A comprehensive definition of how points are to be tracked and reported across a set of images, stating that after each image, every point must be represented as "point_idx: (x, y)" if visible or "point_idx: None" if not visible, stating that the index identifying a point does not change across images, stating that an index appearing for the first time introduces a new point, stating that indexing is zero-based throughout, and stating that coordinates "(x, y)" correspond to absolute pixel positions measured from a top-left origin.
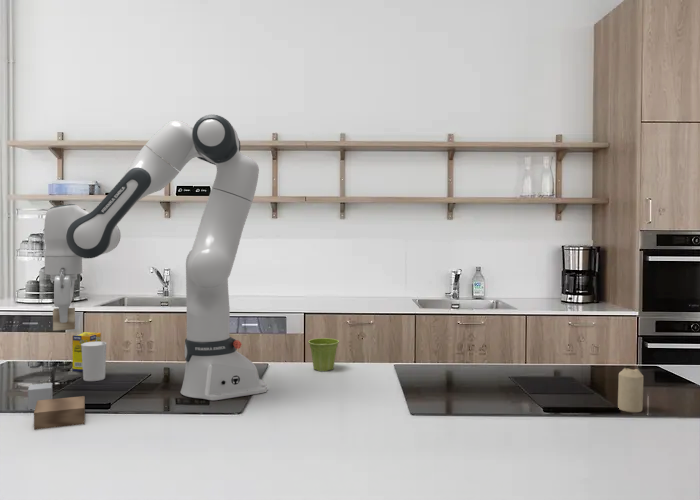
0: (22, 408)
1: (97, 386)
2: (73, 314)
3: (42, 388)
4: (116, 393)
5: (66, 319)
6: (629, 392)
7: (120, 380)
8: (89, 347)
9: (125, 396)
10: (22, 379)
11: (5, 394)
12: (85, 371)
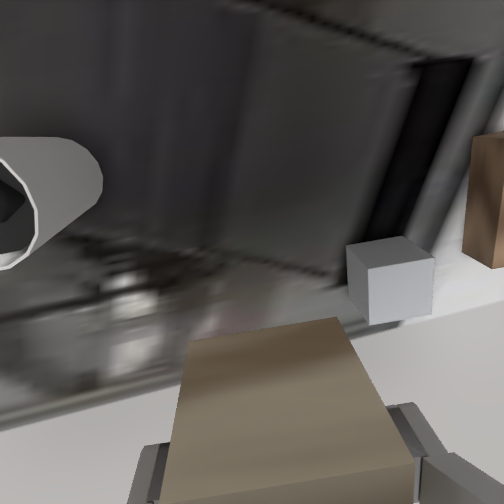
0: None
1: (181, 146)
2: (387, 420)
3: (430, 280)
4: (293, 57)
5: (422, 422)
6: None
7: (95, 65)
8: (42, 219)
9: (345, 14)
10: (74, 377)
11: None
12: (85, 209)
